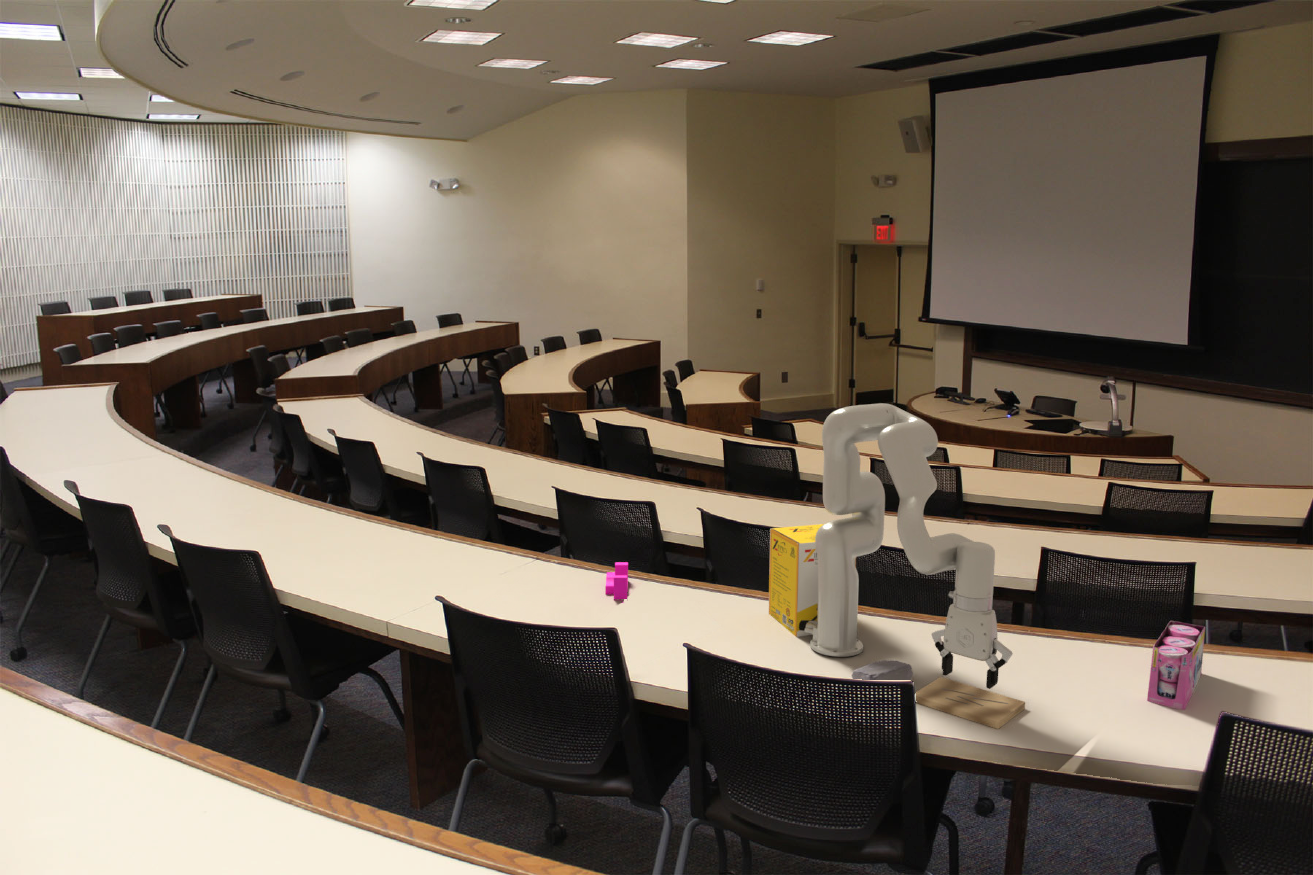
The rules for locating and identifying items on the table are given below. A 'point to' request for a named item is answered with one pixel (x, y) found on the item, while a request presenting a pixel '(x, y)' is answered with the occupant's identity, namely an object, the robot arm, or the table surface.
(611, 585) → the toy block
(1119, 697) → the table surface
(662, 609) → the table surface
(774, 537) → the packaging box
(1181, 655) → the gum box
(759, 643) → the table surface
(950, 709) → the board
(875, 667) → the stone block
